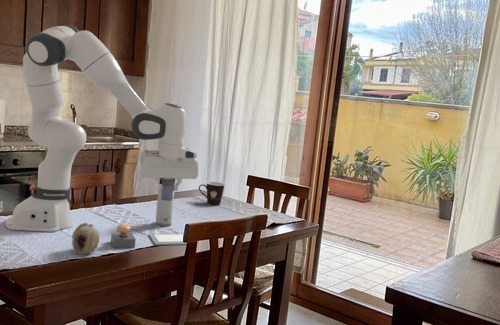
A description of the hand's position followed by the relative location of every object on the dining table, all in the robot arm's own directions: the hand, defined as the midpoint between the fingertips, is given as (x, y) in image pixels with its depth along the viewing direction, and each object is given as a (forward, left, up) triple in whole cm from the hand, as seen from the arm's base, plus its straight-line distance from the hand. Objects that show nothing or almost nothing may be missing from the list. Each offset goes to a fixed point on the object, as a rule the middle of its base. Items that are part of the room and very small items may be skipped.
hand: (167, 190), depth 182 cm
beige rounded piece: (-27, -7, -20) cm, 34 cm away
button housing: (-14, 0, -19) cm, 24 cm away
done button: (-14, 0, -18) cm, 22 cm away
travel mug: (+6, +24, -20) cm, 32 cm away
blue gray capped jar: (0, 0, -3) cm, 3 cm away
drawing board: (+4, +4, -19) cm, 20 cm away
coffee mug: (+38, +60, -20) cm, 74 cm away
